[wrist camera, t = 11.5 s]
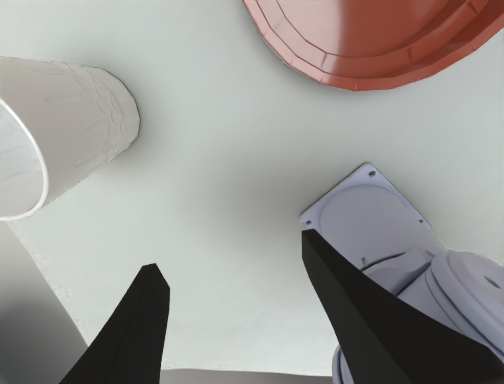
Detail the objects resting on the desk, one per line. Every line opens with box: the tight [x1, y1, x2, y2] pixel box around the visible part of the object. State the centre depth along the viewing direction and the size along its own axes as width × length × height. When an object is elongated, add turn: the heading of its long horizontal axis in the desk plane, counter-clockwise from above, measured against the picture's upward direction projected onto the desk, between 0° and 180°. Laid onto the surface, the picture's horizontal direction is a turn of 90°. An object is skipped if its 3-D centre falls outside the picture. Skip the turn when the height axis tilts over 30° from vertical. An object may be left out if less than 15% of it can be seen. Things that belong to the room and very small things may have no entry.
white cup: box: [0, 56, 140, 221], centre depth 15 cm, size 8×8×10 cm
